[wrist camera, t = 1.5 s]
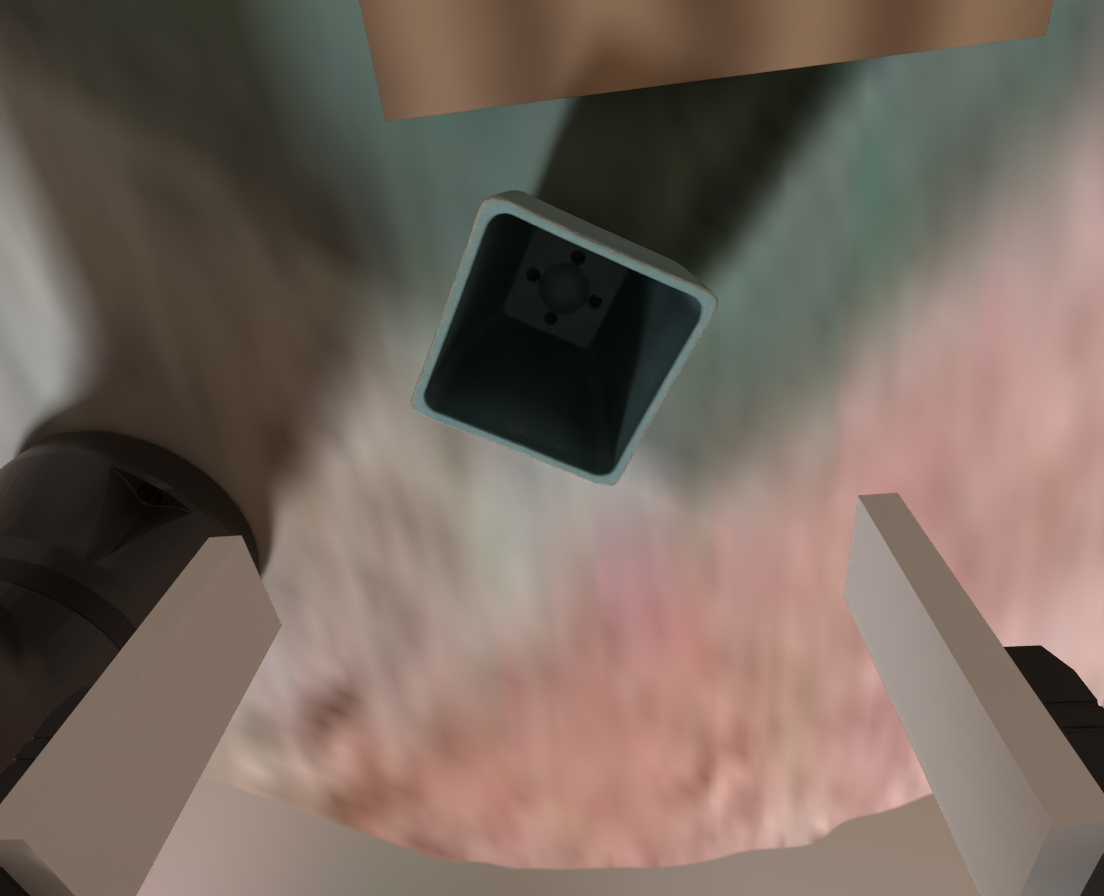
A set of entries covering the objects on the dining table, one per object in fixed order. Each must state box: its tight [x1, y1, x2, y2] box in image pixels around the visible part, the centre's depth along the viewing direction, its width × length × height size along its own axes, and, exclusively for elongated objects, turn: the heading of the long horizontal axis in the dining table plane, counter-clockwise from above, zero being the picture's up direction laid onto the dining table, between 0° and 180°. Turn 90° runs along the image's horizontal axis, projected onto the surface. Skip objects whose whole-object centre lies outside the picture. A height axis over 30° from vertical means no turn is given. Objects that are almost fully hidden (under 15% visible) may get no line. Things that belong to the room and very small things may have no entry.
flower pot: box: [411, 190, 718, 486], centre depth 28 cm, size 9×9×9 cm
